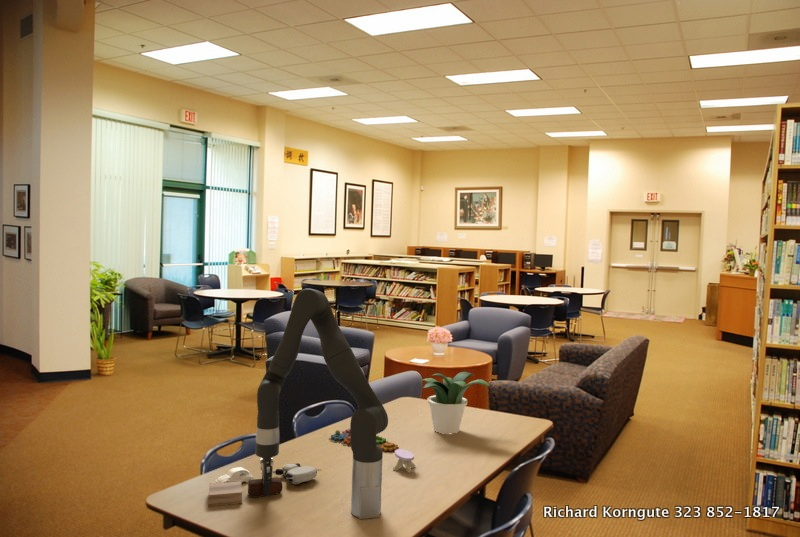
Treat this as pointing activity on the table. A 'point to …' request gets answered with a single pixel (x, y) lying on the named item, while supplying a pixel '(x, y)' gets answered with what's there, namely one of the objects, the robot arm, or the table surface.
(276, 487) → the brick
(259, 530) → the table surface
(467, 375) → the potted plant
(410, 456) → the toy table
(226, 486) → the base brick
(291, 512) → the table surface
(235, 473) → the car
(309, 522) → the table surface
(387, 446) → the gear puzzle
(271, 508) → the table surface
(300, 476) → the robot toy
